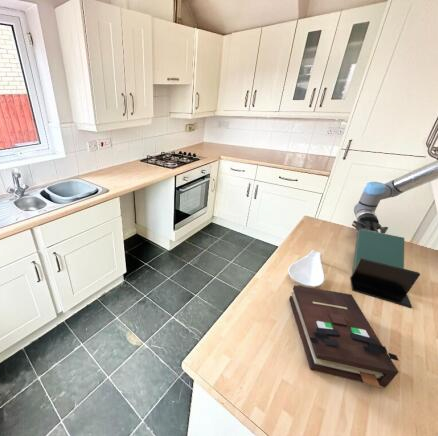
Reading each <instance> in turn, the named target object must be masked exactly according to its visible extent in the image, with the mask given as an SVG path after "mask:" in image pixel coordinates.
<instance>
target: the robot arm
mask: <svg viewBox="0 0 438 436" xmlns="http://www.w3.org/2000/svg"><path fill="white" fill-rule="evenodd" d="M435 180H438V159H436V160H434V161H432V162H429V163H428V164H425V165H423V166H421V167H419V168H416V169H413V170H412V171H409V172H408V173H405V174H403V175H401V176H399V177H396V178H394V179H392V180H389V181H388V182H385V183H383V182H378V181H368V182H367V183H366V186H365V187H364V188H363V191H362V194H361V196H360V198H359V200H358V202H357V203H356V204H354V207H353V212H354V215H355V219H356V220H353V221H352V224H351V226H352V227H353V228H354V229H356V232H358V231H359V229H364V230H369V231H374V232H379V233H384V234H387V231H388V229H389V226H382V225H381V224H380V222H379V219H378V216H377V215H376V214H377V213H376V210H377V207H378V206H379V204H380V202H381V200H386V199H389V198H390V199H391V198H395V197H398V196H399V195H401V194H403V193H405V192H408V191H410V190H413V189H415V188H418V187H420V186H423V185H426V184H427V183H431V182H433V181H435ZM379 230H380V231H379Z"/></svg>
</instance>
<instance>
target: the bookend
mask: <svg viewBox="0 0 438 436" xmlns="http://www.w3.org/2000/svg"><path fill="white" fill-rule="evenodd" d="M352 272H353V273H352ZM352 272H351V273H352V274H351V275H350V277H349V280H350V286H351V291H353V292H356V293H359V294H361V295H366V296H369V297H372V298H375V299H379V300H381V301H384V302H389V303H391V304H395V305H398V306H402V307H405V308H409V309H412V308H413V306H412V305H413V304H412V303H411V300H410V299H409V296H408V293H409V292H410V290H411V289H412V288H413V286H414V285H415V283H416V281H417V280H418V278H419V277H420V276H421V273H420V272H418V271H415V270H410V269H406V268H404V269H403V268H399V267H394V266H390V265H386V264H382V263H378V262H374V261H370V260H366V259H362V258H360V260H359V261H358V263H357V265H356V267H355V269H354V271H353V270H352Z"/></svg>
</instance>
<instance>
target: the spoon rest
mask: <svg viewBox="0 0 438 436" xmlns="http://www.w3.org/2000/svg"><path fill="white" fill-rule="evenodd" d="M322 254H323V253H322V252H319V251H316V250H314V249H312V250H311V251H310V252H309V253H308V254H306V255H305V256H303V257H302V258H299V259H298V260H296V261H294V262H293V263H292V264H291V265H289V266H288V268H287V273H288V276H289V277H290V279H291V280H292V281H293V282H294V283H295V284H297V285H298V286H302V287H308V288H315V289H316V288H317V287H318V288H319V287H320V286H322V285H323V284H324V282H325V272H324V268H323V265H322V259H323V258H322V256H323V255H322Z"/></svg>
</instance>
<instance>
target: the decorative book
mask: <svg viewBox="0 0 438 436" xmlns="http://www.w3.org/2000/svg"><path fill="white" fill-rule="evenodd" d="M292 290H293V291H290V294H291V295H290V296H289V298H288V300H289V304H290V308H291V310H292V314H293V317H294V320H295V323H296V327H297V329H298V333H299V334H298V335H299V336H300V340H301V344H302V347H303V350H304V353H305V357H306V360H307V363H308V366H309V370H311V371H314V372H317V373H318V372H319V373H322V374H327V375H331V376H336V377H339V378H345V379H347V380H352V381H357V382H361V383H365V384H367V385H371V386H375V387H377V388H387V387H388V386H389V385H390V384H391V382H392V381H393V380H394V379H395V377H396V376H397V375H398V374H399V370H398V368H397V367H396V365H395V363H394V362H393V361H397V362H400V360H399V357H398V356H397V354H394V353H391V352H388V350H387V348H386V346H384V345H383V343H382V342H381V340H380V339H379V337H378V336H377V334H376V332H375V331H374V329H373V327H372V326H371V324H370V322H369V321H368V319H367V317H366V316H365V314H364V312H363V311H362V309H361V307H360V306H359V305H358V302H357V301H356V299H355V298H354V295H352V294H351V293H345V292H339V291H333V290H327V289H320V288H316V287H315V288H308V287H304V286H301V285H295V284H294V285H293V287H292Z"/></svg>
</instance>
